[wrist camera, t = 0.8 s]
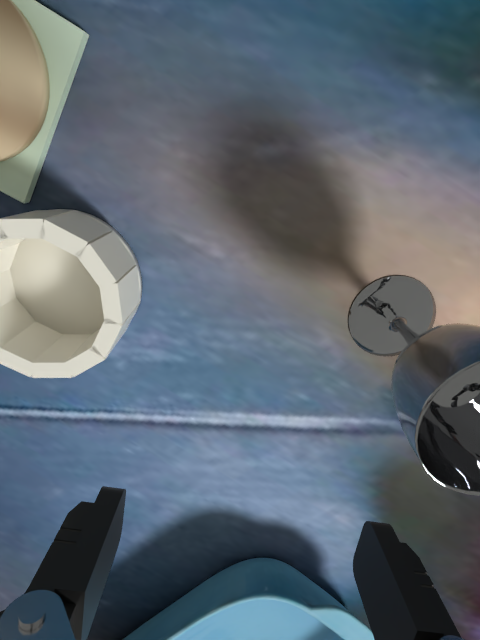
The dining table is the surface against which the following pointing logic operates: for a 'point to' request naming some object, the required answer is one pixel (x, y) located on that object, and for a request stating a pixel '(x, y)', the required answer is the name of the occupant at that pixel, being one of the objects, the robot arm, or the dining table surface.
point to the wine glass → (426, 376)
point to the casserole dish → (255, 609)
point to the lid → (20, 82)
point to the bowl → (63, 291)
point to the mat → (62, 62)
